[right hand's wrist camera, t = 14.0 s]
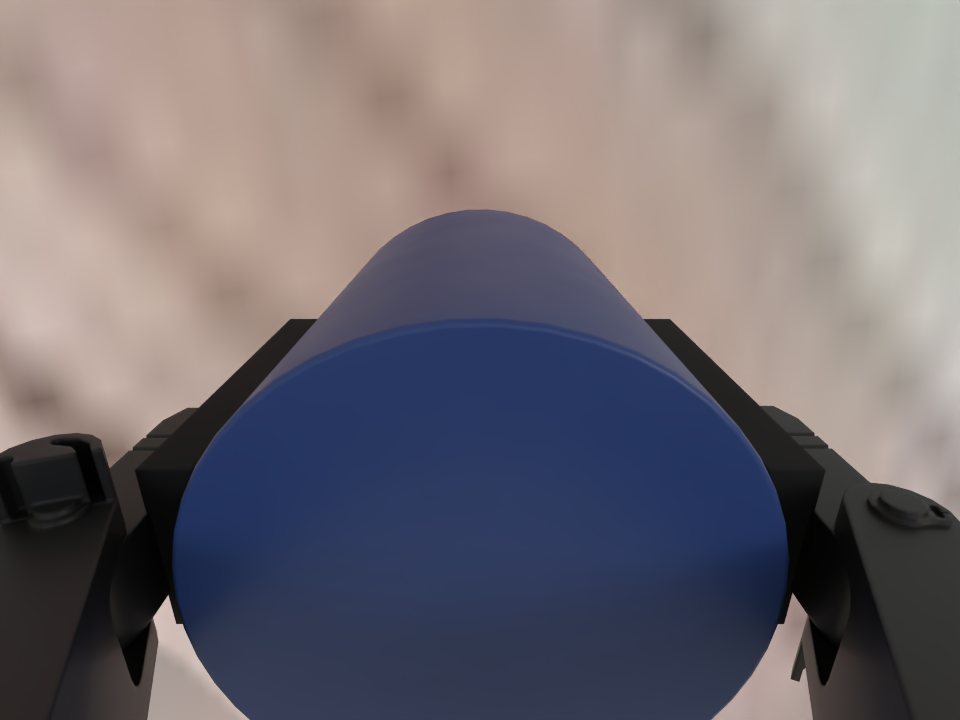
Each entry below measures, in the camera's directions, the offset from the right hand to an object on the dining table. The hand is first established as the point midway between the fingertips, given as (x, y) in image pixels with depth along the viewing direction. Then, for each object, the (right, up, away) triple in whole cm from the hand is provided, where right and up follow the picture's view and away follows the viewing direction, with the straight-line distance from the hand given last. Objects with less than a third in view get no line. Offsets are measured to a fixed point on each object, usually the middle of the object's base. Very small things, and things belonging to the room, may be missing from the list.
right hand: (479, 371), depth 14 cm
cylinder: (0, 0, +2) cm, 2 cm away
